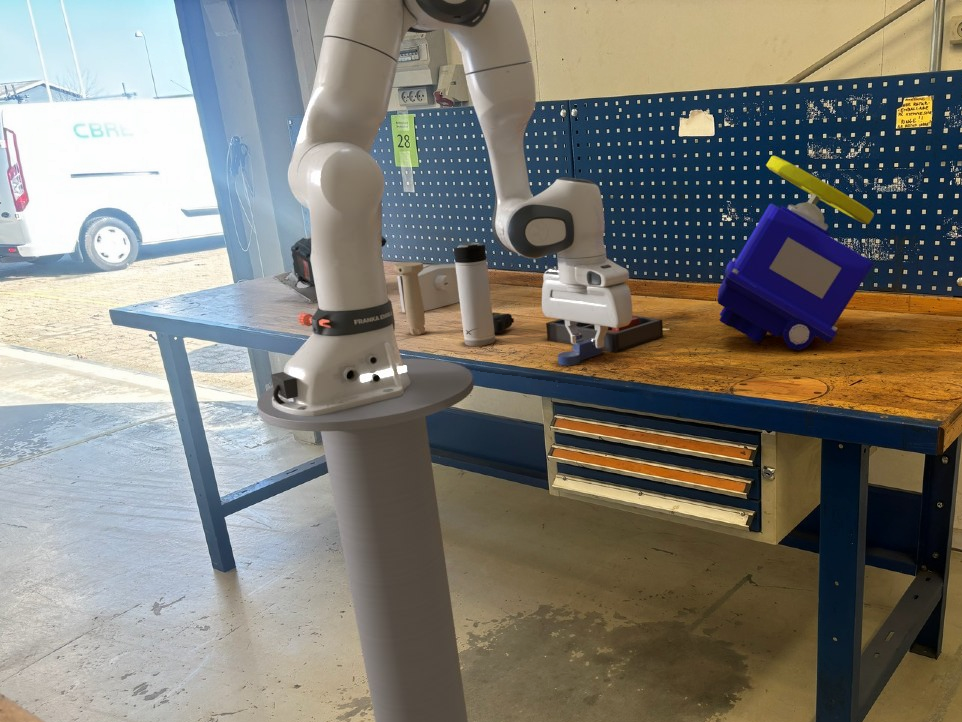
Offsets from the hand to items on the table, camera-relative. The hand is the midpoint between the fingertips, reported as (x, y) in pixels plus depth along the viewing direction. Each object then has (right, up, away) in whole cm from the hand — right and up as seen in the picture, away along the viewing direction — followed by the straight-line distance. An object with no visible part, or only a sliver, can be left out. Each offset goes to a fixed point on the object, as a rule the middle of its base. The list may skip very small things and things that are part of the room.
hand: (587, 345), depth 159 cm
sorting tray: (+3, +3, +13) cm, 14 cm away
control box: (+40, +3, +8) cm, 41 cm away
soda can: (-32, +24, +73) cm, 83 cm away
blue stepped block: (-1, -3, -1) cm, 3 cm away
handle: (-37, +6, +27) cm, 46 cm away
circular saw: (-70, +24, +78) cm, 108 cm away
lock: (-38, +16, +54) cm, 69 cm away
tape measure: (-20, +6, +24) cm, 31 cm away
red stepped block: (+6, +3, +10) cm, 12 cm away
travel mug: (-22, +2, +16) cm, 27 cm away
